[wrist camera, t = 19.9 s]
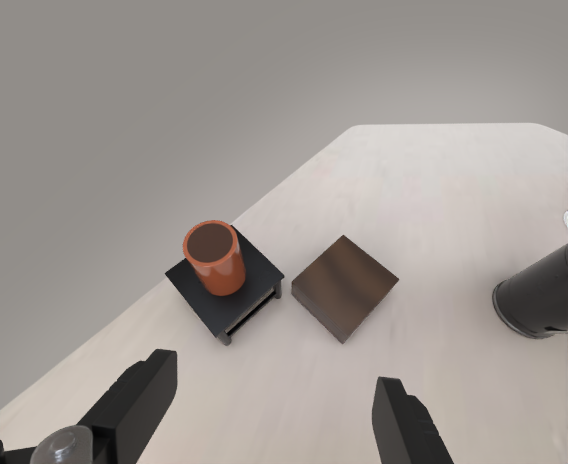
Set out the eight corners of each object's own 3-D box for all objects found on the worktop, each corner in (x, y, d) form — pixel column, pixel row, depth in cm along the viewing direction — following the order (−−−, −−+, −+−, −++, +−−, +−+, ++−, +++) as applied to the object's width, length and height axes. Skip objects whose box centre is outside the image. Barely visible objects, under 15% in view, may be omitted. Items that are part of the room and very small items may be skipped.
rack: (238, 249, 51) (231, 224, 45) (284, 295, 47) (284, 275, 40) (181, 293, 47) (164, 273, 40) (226, 349, 42) (215, 336, 36)
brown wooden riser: (338, 249, 51) (343, 234, 47) (389, 291, 47) (399, 279, 43) (291, 293, 47) (291, 281, 43) (342, 344, 43) (349, 336, 38)
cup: (228, 247, 42) (215, 211, 35) (255, 275, 40) (248, 242, 32) (193, 274, 40) (171, 241, 33) (219, 305, 38) (203, 277, 30)
